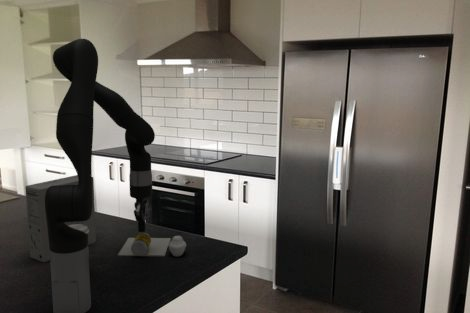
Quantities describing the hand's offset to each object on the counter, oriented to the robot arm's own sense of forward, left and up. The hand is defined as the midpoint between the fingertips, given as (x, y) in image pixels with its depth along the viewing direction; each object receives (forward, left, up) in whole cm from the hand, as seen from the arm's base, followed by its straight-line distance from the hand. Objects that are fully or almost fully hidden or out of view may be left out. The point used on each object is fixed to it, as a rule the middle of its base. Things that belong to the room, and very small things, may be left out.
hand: (142, 231), depth 143 cm
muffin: (-1, -12, -8) cm, 15 cm away
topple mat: (+6, 0, -8) cm, 10 cm away
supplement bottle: (-4, 0, -5) cm, 6 cm away
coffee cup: (-16, +17, -8) cm, 25 cm away
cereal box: (+3, +28, -8) cm, 29 cm away
